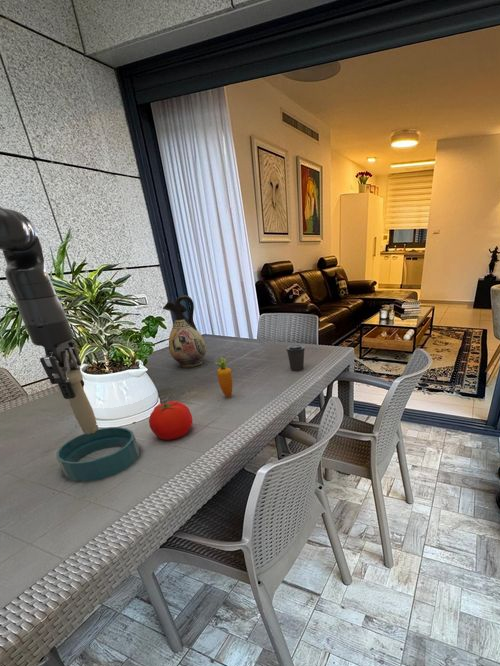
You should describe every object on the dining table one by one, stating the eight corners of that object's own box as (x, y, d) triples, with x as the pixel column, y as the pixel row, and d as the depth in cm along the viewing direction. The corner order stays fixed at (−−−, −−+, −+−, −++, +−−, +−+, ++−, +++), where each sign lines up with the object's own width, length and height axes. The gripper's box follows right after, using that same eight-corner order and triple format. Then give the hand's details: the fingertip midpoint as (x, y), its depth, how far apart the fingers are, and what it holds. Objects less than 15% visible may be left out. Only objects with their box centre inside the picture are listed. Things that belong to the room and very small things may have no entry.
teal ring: (55, 490, 83) (45, 469, 80) (77, 452, 97) (69, 433, 94) (134, 475, 87) (127, 455, 84) (144, 441, 101) (138, 422, 98)
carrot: (232, 402, 123) (225, 360, 115) (219, 401, 123) (211, 360, 116) (238, 396, 127) (231, 356, 120) (225, 395, 128) (217, 355, 120)
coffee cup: (299, 373, 145) (297, 349, 140) (283, 370, 149) (281, 347, 144) (310, 367, 151) (309, 344, 146) (294, 364, 155) (293, 342, 150)
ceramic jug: (171, 372, 152) (153, 299, 137) (175, 361, 165) (159, 293, 150) (211, 367, 155) (198, 296, 140) (212, 357, 168) (200, 291, 154)
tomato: (176, 422, 111) (168, 392, 106) (203, 430, 106) (197, 399, 101) (144, 440, 101) (134, 408, 96) (172, 449, 97) (163, 416, 92)
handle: (102, 423, 91) (81, 368, 84) (102, 434, 86) (79, 376, 79) (80, 428, 89) (57, 372, 82) (79, 439, 84) (54, 381, 77)
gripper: (38, 314, 79) (67, 383, 87) (9, 329, 67) (45, 407, 75) (75, 311, 81) (100, 379, 89) (53, 325, 69) (84, 402, 77)
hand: (75, 392), depth 82 cm, fingers closed on handle, 6 cm apart
